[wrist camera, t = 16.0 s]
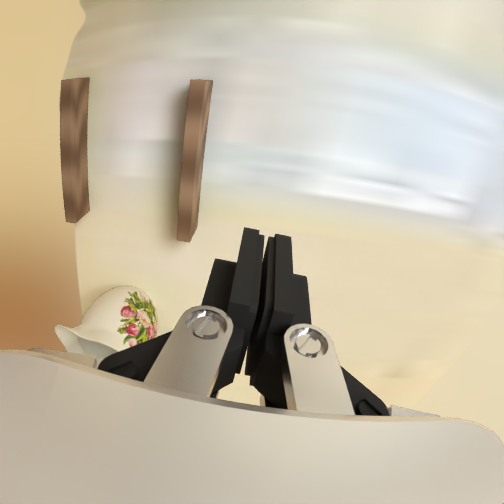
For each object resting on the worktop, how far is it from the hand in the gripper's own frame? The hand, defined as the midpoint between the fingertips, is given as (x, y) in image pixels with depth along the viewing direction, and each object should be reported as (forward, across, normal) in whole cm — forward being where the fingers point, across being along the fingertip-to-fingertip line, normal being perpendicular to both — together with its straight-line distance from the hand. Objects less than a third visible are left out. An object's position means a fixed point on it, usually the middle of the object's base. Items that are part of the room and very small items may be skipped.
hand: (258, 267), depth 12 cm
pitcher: (+26, +15, +30) cm, 42 cm away
